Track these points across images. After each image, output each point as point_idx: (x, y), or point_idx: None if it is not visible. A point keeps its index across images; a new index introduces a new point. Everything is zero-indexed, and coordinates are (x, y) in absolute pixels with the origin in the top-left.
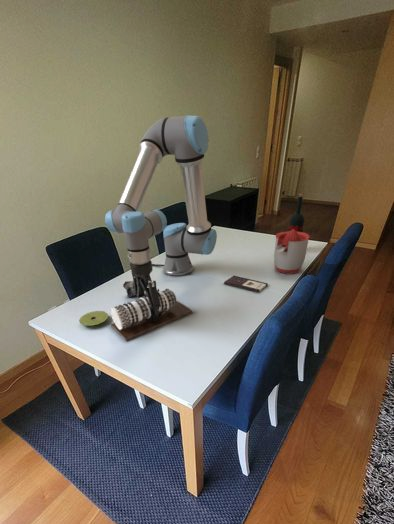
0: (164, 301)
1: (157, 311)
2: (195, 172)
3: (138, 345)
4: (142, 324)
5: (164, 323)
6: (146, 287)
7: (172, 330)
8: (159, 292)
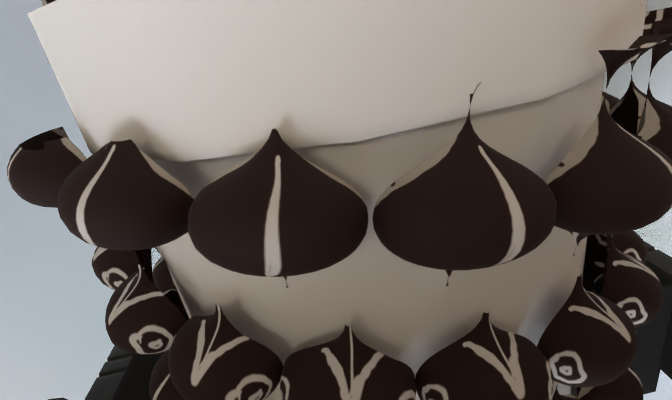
0: (643, 53)
1: (656, 260)
2: None
3: None
4: None
5: None
6: None
7: (663, 77)
8: (357, 97)
